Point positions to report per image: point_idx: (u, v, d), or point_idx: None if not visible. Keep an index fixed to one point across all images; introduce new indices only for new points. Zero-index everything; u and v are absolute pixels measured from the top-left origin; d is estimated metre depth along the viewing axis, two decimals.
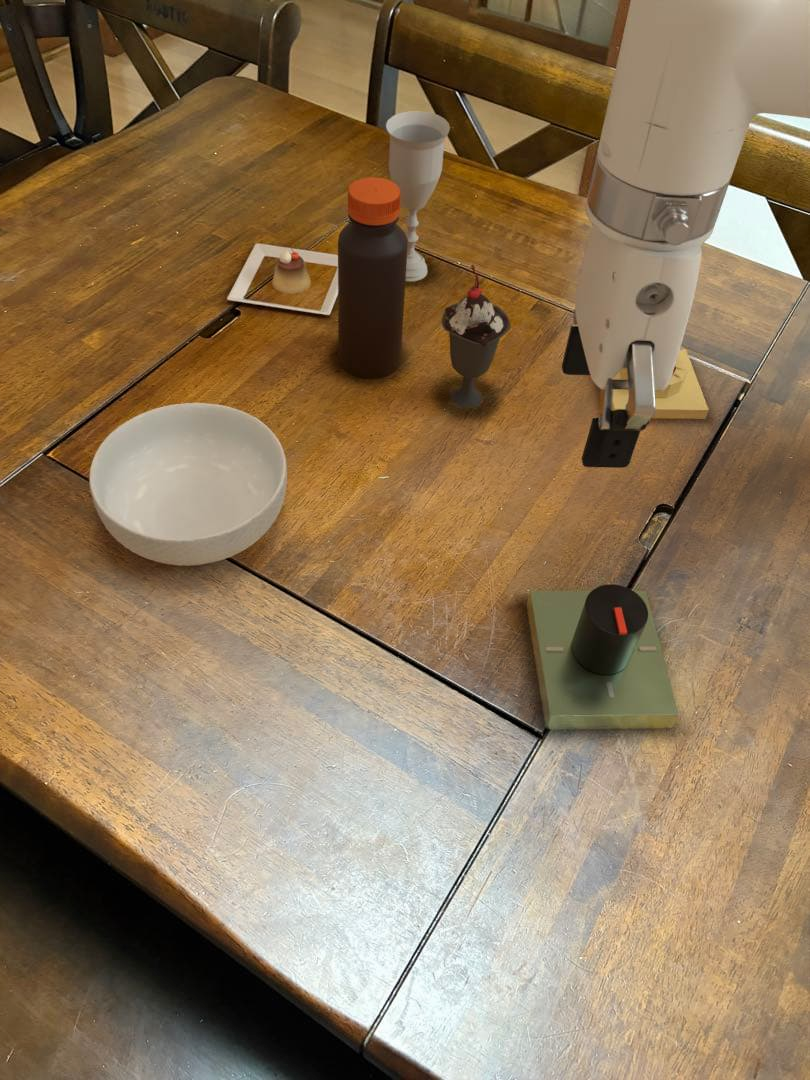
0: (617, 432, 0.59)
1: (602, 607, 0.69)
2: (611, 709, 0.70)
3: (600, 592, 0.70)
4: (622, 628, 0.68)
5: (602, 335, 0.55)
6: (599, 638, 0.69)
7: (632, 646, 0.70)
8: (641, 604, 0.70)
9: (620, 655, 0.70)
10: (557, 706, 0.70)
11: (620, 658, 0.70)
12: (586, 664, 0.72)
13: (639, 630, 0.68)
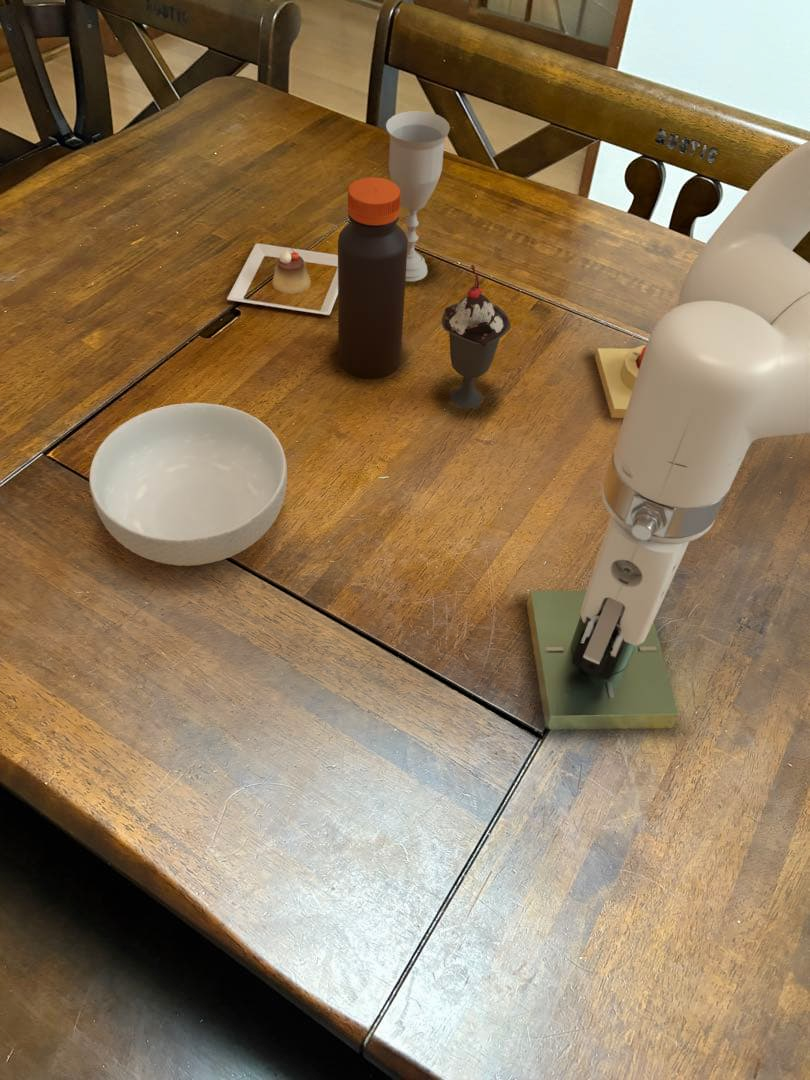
0: None
1: None
2: (611, 709, 0.70)
3: None
4: None
5: None
6: None
7: (632, 646, 0.70)
8: None
9: None
10: (557, 706, 0.70)
11: (620, 658, 0.70)
12: None
13: None
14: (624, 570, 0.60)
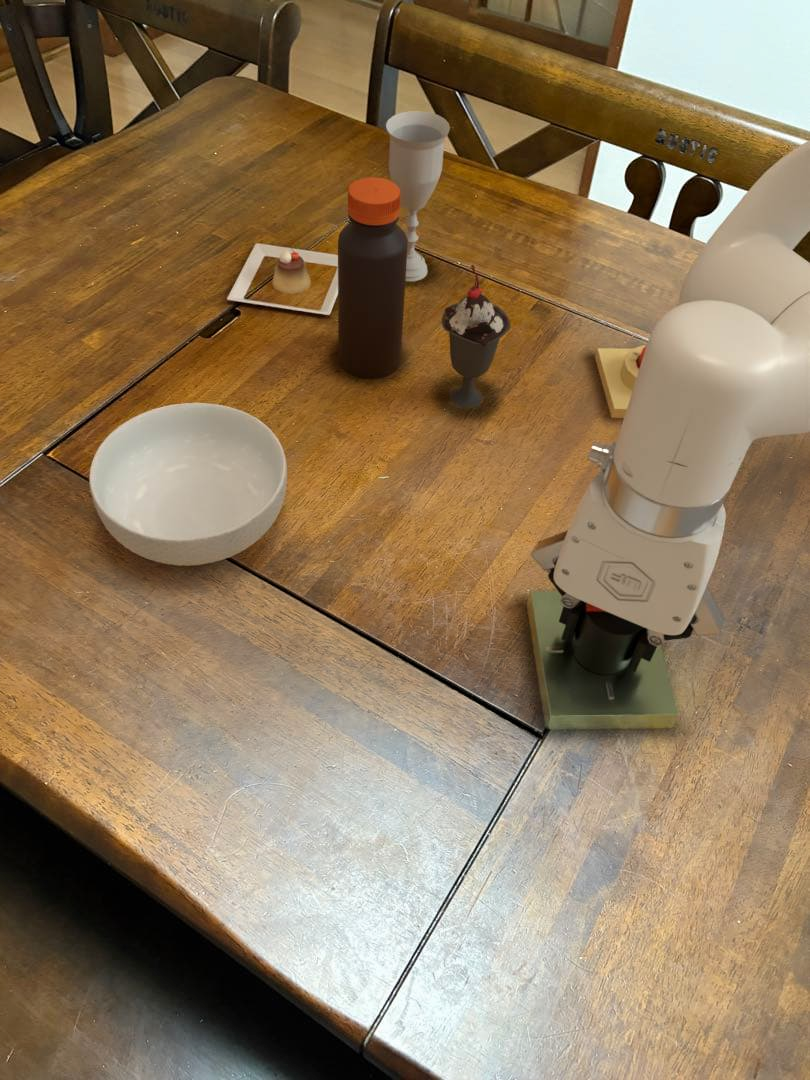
0: None
1: None
2: (611, 709, 0.70)
3: None
4: (591, 606, 0.69)
5: None
6: None
7: (587, 639, 0.70)
8: (626, 631, 0.68)
9: (579, 634, 0.71)
10: (557, 706, 0.70)
11: (579, 638, 0.71)
12: None
13: (594, 624, 0.68)
14: None
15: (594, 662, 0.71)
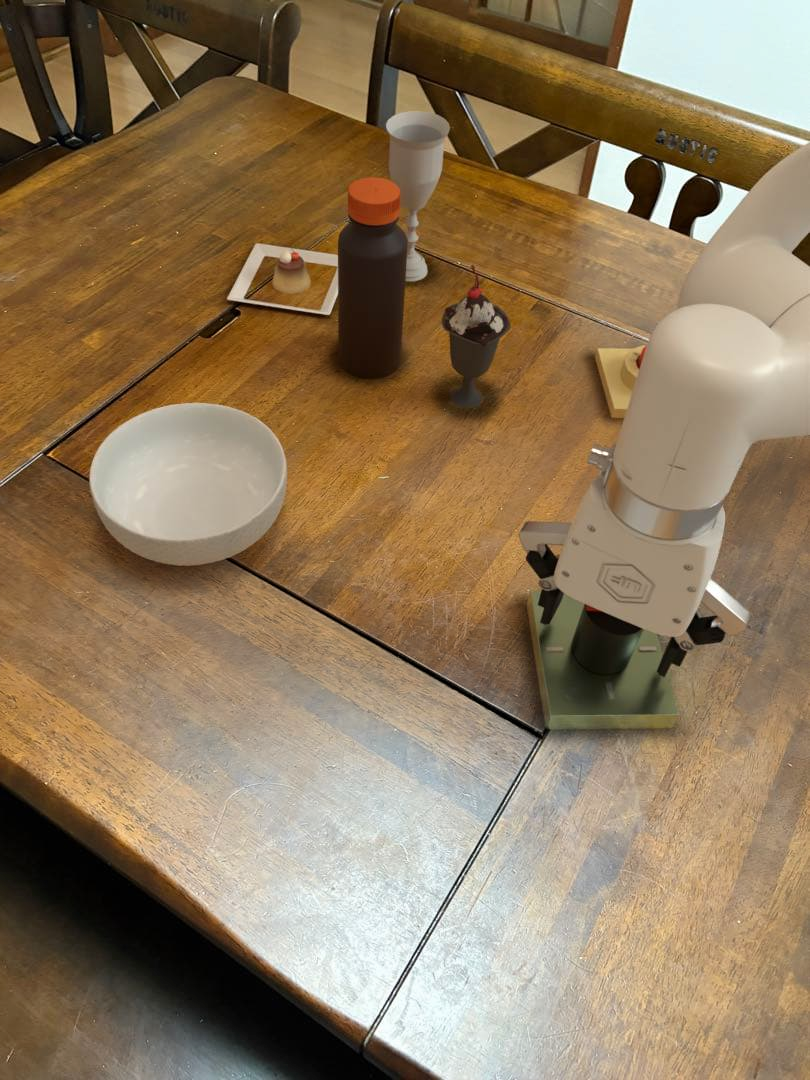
0: None
1: None
2: (611, 709, 0.70)
3: None
4: None
5: None
6: None
7: (587, 638, 0.70)
8: (626, 631, 0.68)
9: (579, 633, 0.71)
10: (557, 706, 0.70)
11: (578, 637, 0.71)
12: None
13: (593, 623, 0.68)
14: None
15: (593, 662, 0.71)
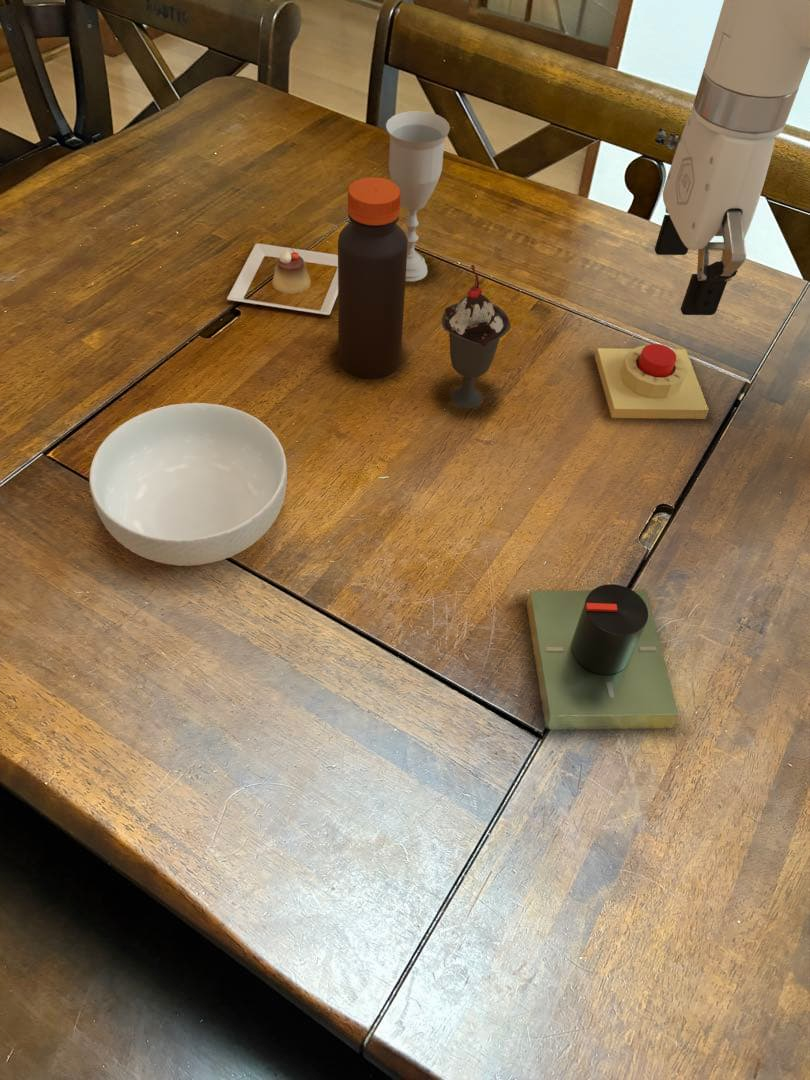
0: None
1: (616, 597, 0.70)
2: (611, 709, 0.70)
3: (634, 599, 0.70)
4: (591, 605, 0.69)
5: None
6: None
7: (587, 638, 0.70)
8: (626, 631, 0.68)
9: (579, 633, 0.71)
10: (557, 706, 0.70)
11: (578, 637, 0.71)
12: None
13: (593, 623, 0.68)
14: None
15: (593, 662, 0.71)
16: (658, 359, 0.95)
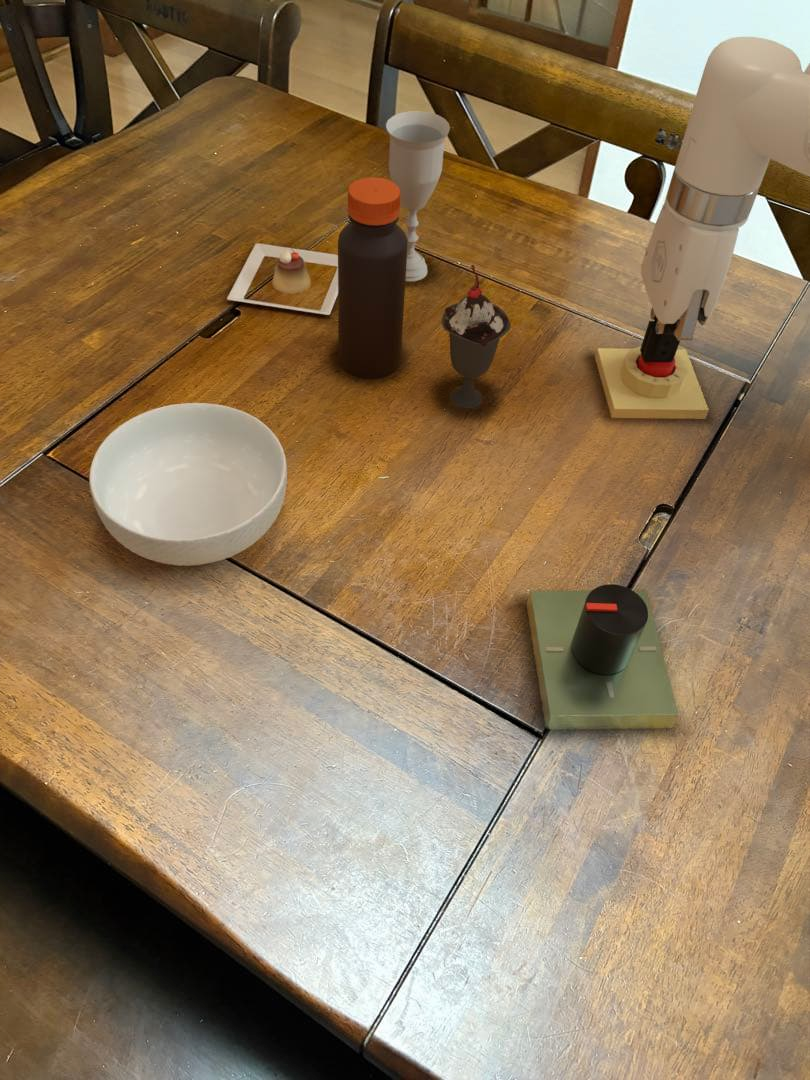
0: None
1: (616, 597, 0.70)
2: (611, 709, 0.70)
3: (634, 599, 0.70)
4: (591, 605, 0.69)
5: None
6: None
7: (587, 638, 0.70)
8: (626, 631, 0.68)
9: (579, 633, 0.71)
10: (557, 706, 0.70)
11: (578, 637, 0.71)
12: None
13: (593, 623, 0.68)
14: None
15: (593, 662, 0.71)
16: (657, 362, 0.95)
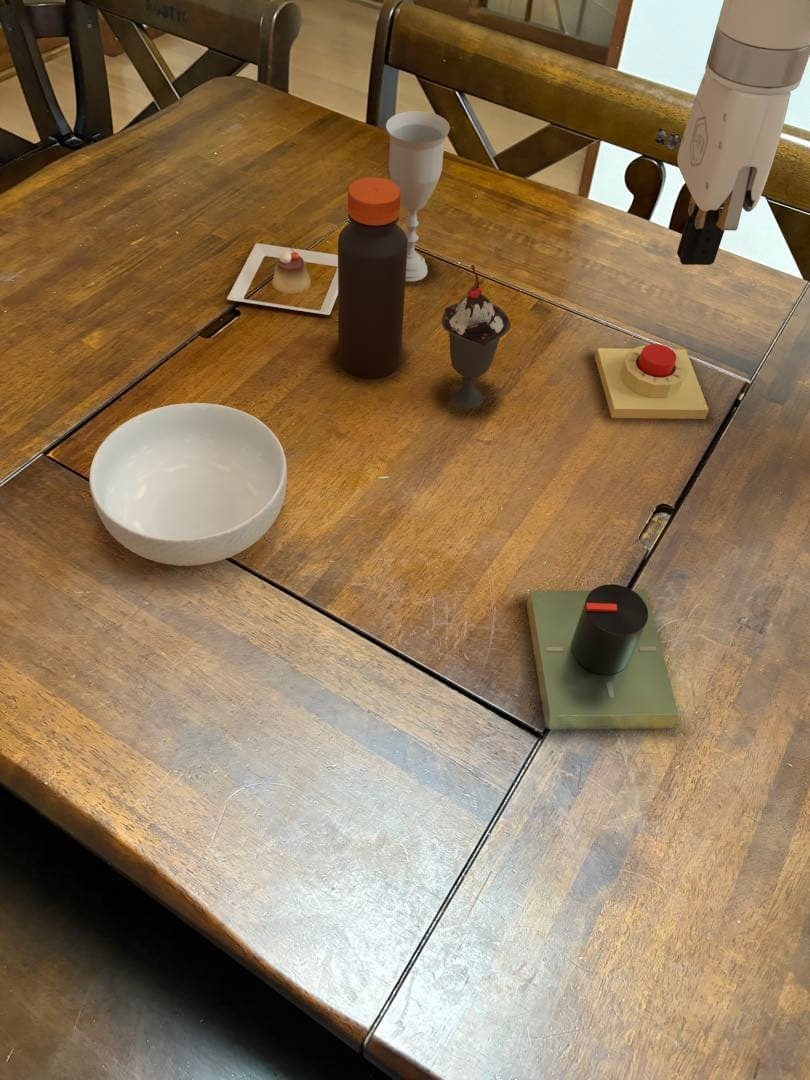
0: None
1: (616, 597, 0.70)
2: (611, 709, 0.70)
3: (634, 599, 0.70)
4: (591, 605, 0.69)
5: None
6: None
7: (587, 638, 0.70)
8: (626, 631, 0.68)
9: (579, 633, 0.71)
10: (557, 706, 0.70)
11: (578, 637, 0.71)
12: None
13: (593, 623, 0.68)
14: None
15: (593, 662, 0.71)
16: (658, 359, 0.95)
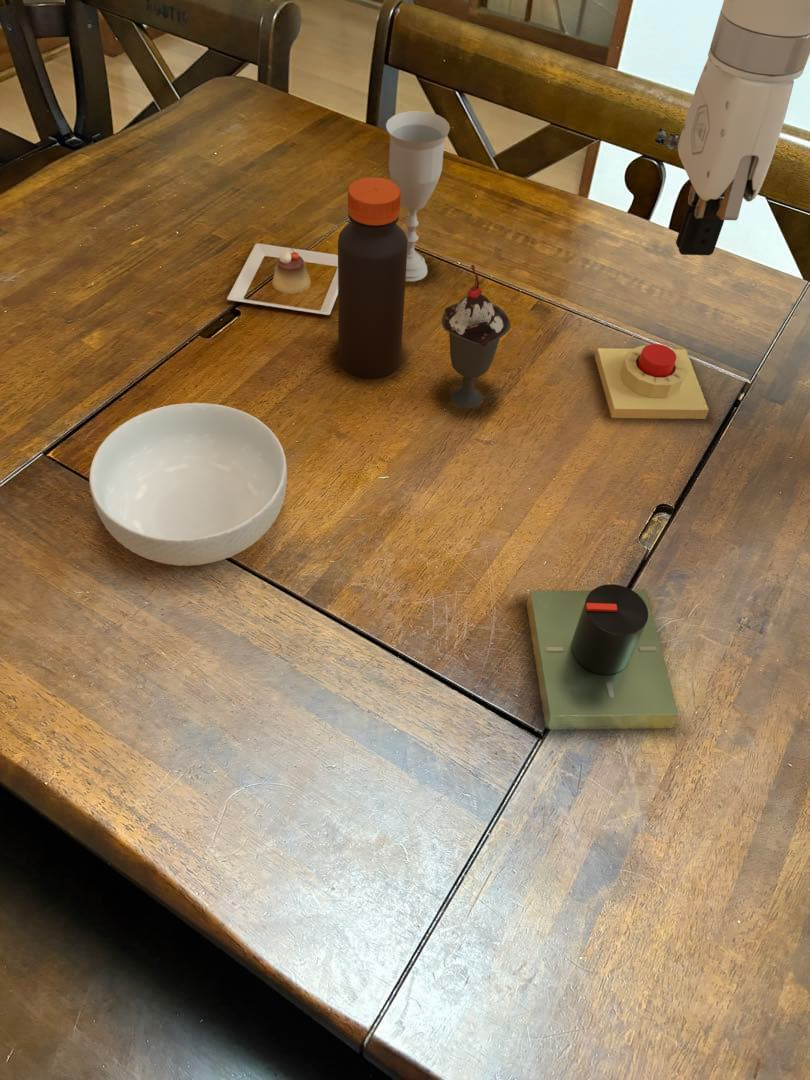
0: None
1: (616, 597, 0.70)
2: (611, 709, 0.70)
3: (634, 599, 0.70)
4: (591, 605, 0.69)
5: None
6: None
7: (587, 638, 0.70)
8: (626, 631, 0.68)
9: (579, 633, 0.71)
10: (557, 706, 0.70)
11: (578, 637, 0.71)
12: None
13: (593, 623, 0.68)
14: None
15: (593, 662, 0.71)
16: (658, 359, 0.95)
